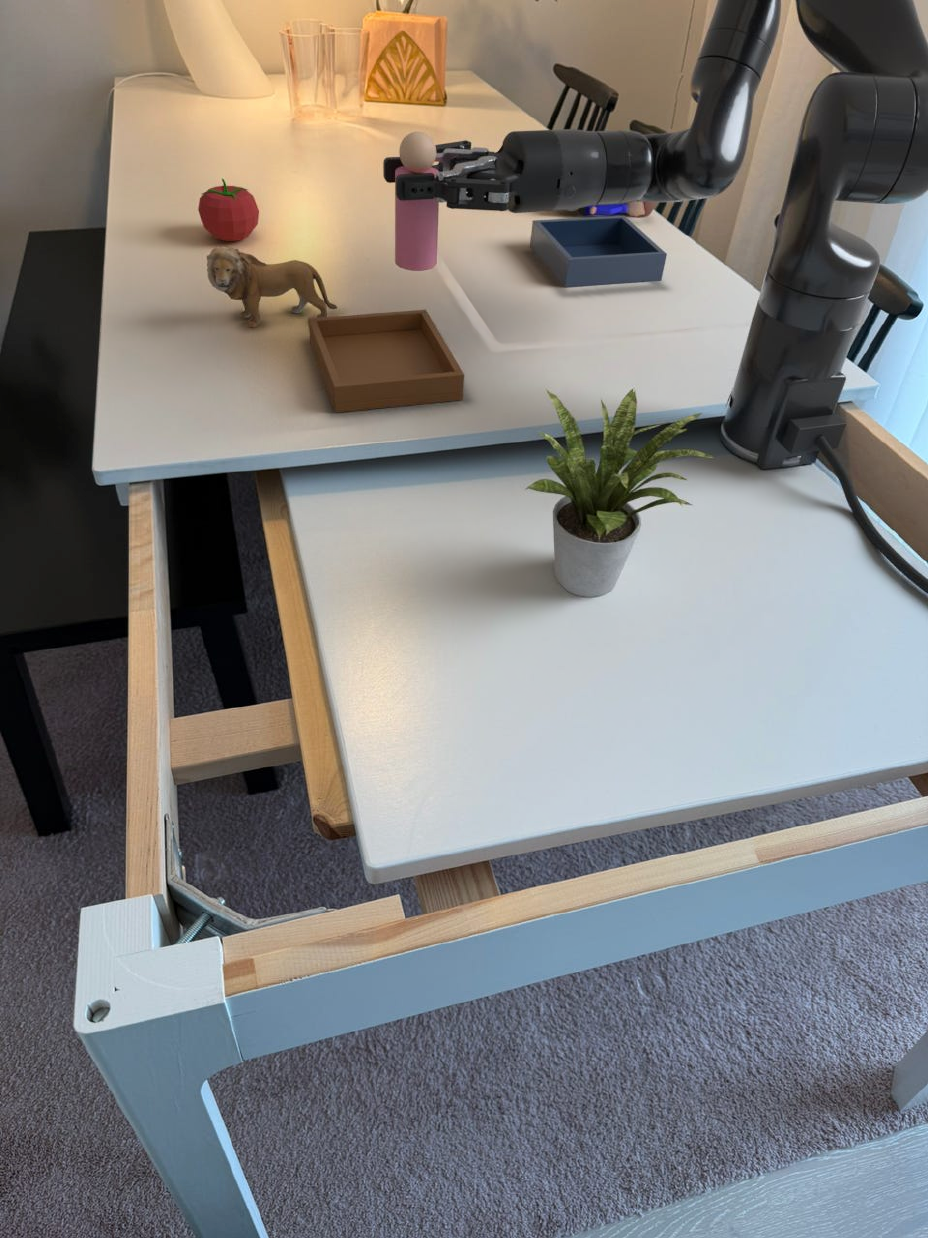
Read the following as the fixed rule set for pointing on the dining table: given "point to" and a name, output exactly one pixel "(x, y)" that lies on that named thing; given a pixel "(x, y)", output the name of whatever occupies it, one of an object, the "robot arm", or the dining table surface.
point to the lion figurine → (263, 281)
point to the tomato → (228, 212)
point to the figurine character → (620, 209)
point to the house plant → (603, 496)
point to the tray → (384, 360)
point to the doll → (416, 208)
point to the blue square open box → (597, 251)
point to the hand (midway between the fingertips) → (391, 178)
